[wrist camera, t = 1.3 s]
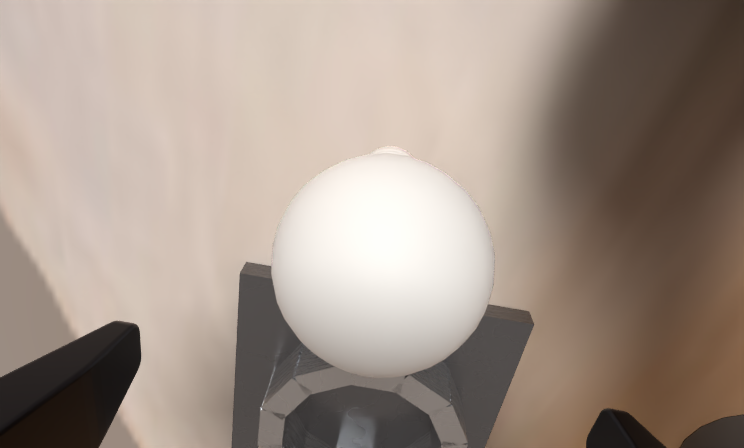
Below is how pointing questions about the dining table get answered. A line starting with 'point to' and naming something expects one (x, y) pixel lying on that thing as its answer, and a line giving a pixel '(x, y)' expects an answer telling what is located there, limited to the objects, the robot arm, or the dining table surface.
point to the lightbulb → (383, 264)
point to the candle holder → (718, 434)
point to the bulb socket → (364, 385)
